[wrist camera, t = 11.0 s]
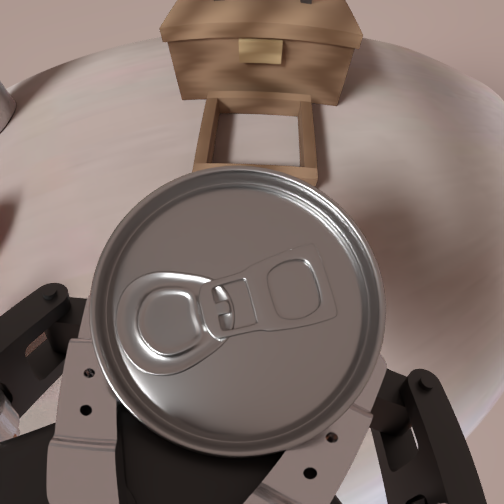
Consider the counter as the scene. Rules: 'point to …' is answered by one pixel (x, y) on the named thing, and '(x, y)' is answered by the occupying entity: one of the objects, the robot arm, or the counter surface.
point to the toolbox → (261, 64)
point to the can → (237, 311)
